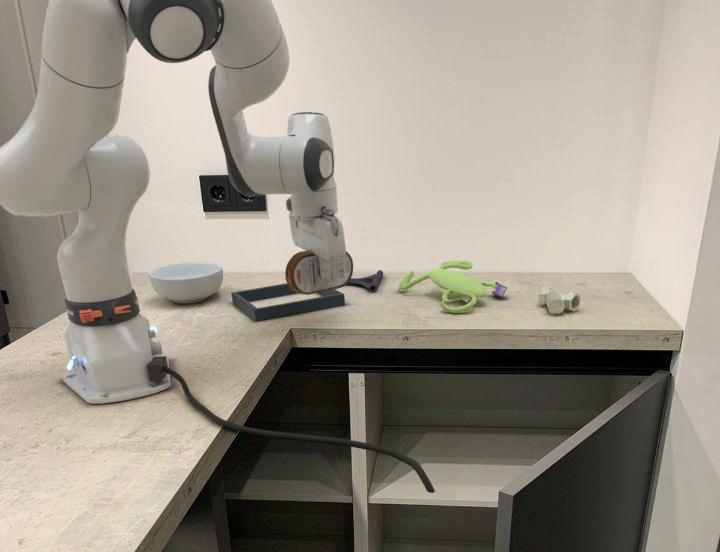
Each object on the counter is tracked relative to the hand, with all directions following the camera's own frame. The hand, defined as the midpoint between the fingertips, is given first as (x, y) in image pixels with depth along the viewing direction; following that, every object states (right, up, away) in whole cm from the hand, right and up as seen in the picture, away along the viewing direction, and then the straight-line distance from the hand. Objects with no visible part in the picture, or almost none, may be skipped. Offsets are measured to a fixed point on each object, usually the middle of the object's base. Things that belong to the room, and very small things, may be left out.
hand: (320, 275), depth 150 cm
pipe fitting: (+49, -7, +3) cm, 49 cm away
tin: (0, -3, +1) cm, 3 cm away
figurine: (+29, 0, +16) cm, 33 cm away
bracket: (+6, +6, +29) cm, 30 cm away
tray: (-8, -2, +17) cm, 19 cm away
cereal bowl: (-32, +1, +25) cm, 41 cm away
